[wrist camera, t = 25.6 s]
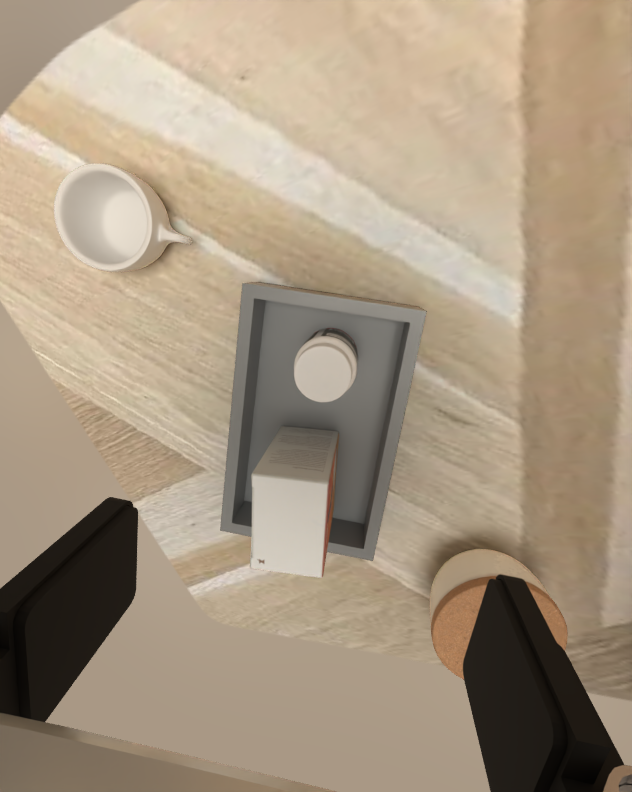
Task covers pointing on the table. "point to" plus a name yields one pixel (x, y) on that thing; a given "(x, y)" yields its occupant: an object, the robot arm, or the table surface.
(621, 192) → the table surface
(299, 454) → the small box
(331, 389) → the pill bottle
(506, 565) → the lidded jar
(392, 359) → the tote
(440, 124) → the table surface
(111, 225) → the teacup
